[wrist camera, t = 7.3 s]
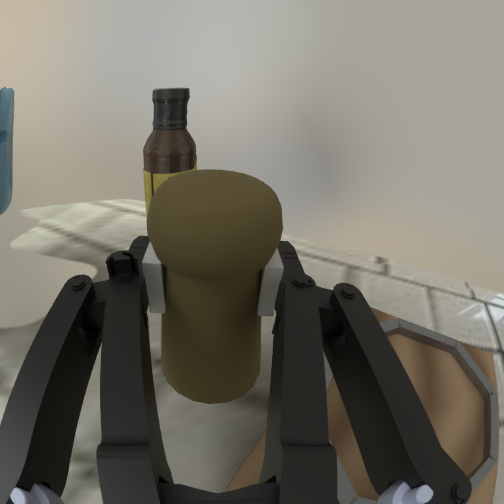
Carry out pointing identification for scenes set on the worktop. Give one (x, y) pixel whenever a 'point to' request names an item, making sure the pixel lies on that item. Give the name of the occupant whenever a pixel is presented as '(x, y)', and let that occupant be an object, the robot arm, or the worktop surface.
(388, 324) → the steel ring
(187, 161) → the sauce bottle
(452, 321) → the worktop surface
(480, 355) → the walnut board
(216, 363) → the cork
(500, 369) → the worktop surface
